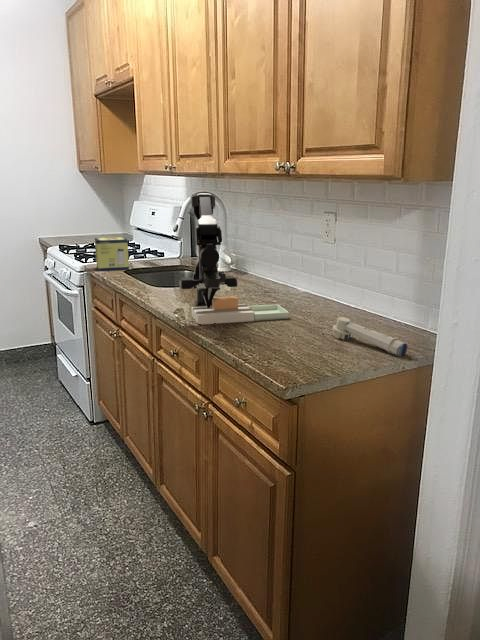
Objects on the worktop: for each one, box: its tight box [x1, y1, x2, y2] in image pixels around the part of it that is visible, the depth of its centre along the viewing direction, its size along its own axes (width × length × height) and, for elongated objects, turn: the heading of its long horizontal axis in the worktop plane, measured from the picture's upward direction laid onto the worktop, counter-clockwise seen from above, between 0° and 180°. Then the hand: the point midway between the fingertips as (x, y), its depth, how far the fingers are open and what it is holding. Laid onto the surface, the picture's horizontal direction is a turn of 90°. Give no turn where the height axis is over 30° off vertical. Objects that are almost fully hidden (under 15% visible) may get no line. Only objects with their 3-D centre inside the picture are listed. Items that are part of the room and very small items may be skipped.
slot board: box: [191, 303, 255, 325], centre depth 186 cm, size 12×19×4 cm, turn 105°
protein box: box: [94, 236, 130, 272], centre depth 279 cm, size 10×16×16 cm
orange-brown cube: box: [211, 296, 227, 310], centre depth 185 cm, size 4×4×4 cm
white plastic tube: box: [332, 316, 409, 357], centre depth 158 cm, size 5×7×25 cm
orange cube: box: [224, 295, 239, 310], centre depth 186 cm, size 4×4×4 cm
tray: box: [247, 303, 290, 322], centre depth 191 cm, size 12×12×2 cm
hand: (208, 307), depth 185 cm, fingers closed
